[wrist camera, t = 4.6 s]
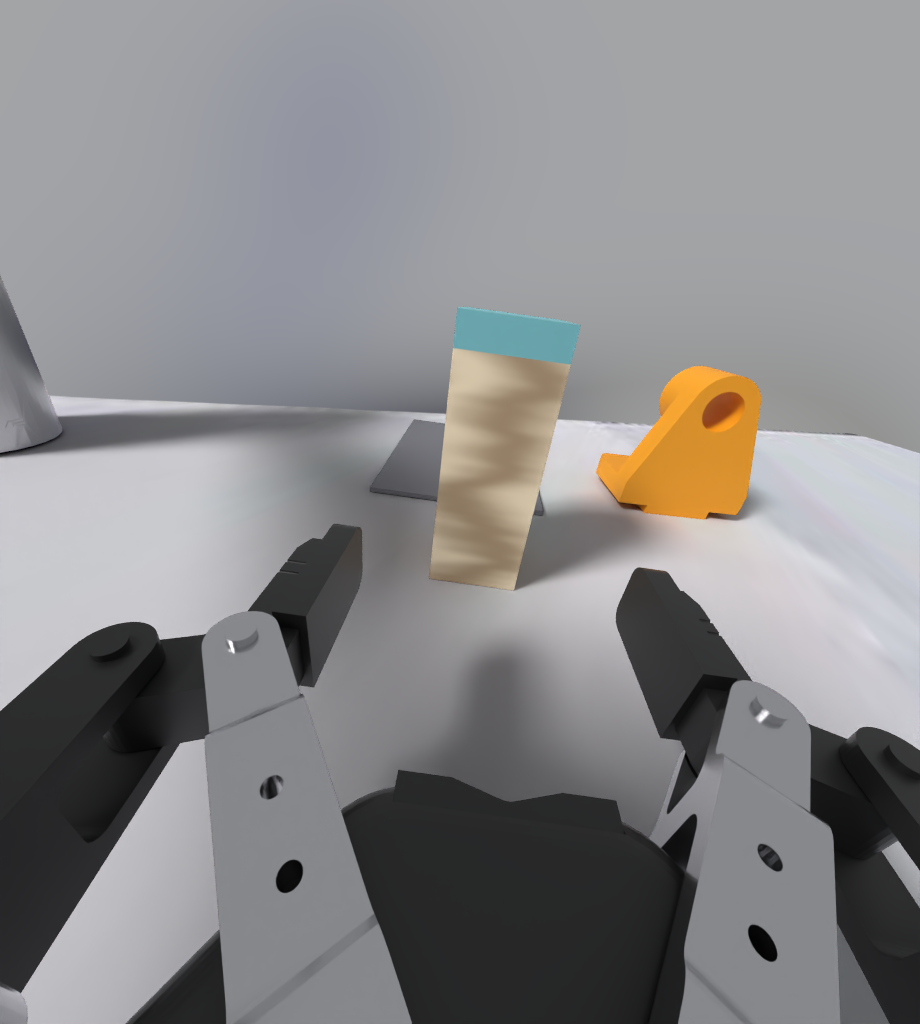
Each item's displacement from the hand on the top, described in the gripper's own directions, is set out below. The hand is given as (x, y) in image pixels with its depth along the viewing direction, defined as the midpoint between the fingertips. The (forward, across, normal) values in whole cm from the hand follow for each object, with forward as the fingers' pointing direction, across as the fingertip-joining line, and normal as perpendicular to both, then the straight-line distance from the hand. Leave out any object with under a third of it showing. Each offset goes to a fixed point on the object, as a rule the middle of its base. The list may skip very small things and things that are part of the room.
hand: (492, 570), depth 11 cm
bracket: (+25, -18, +8) cm, 31 cm away
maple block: (+11, 0, +8) cm, 13 cm away
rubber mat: (+28, +2, +8) cm, 29 cm away
